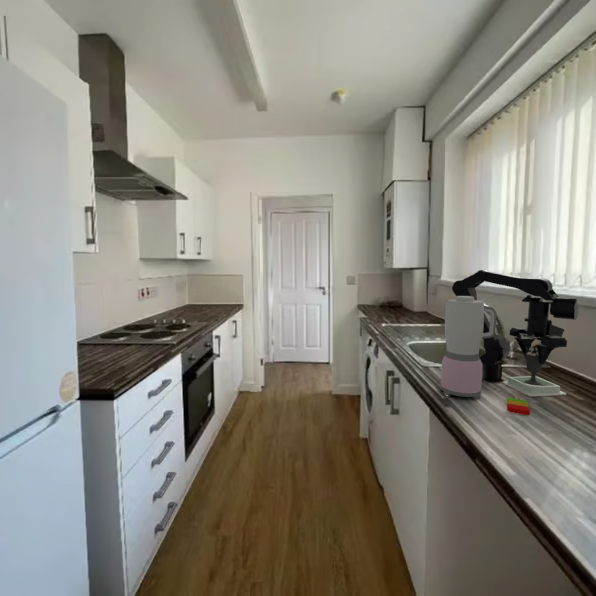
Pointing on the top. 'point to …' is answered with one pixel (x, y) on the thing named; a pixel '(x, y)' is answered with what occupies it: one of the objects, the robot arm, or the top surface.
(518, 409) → the popsicle
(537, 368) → the sundae
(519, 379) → the holder cell
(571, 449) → the top surface
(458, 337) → the blender
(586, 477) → the top surface
